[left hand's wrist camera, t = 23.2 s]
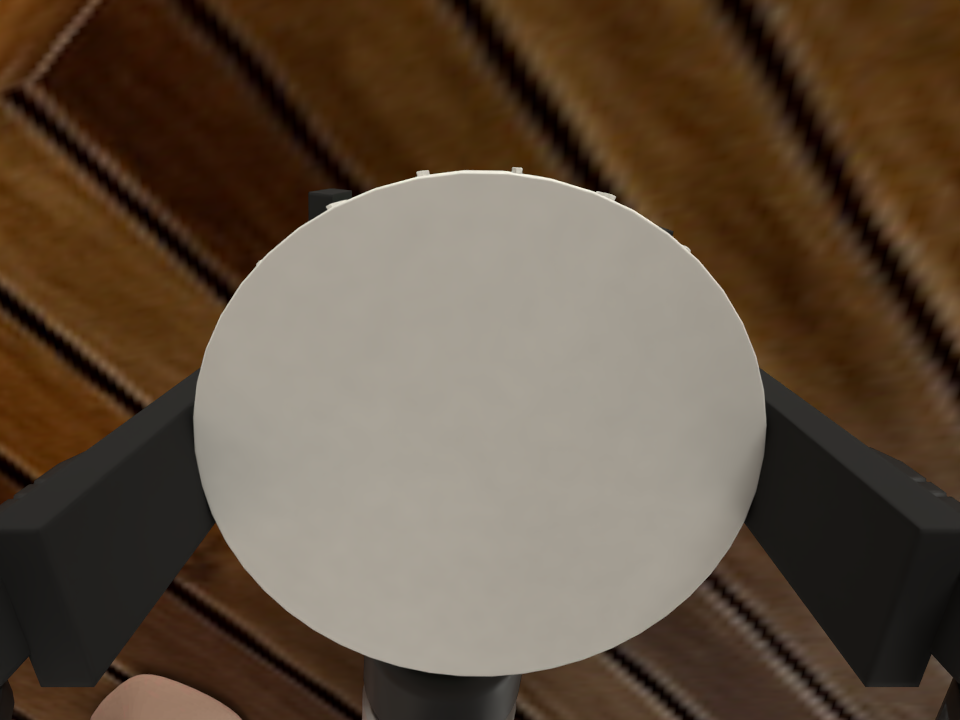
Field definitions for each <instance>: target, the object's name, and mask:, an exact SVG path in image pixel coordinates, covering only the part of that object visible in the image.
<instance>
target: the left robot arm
mask: <svg viewBox="0 0 960 720" xmlns="http://www.w3.org/2000/svg"><path fill="white" fill-rule="evenodd" d="M200 369H201V368H199V369H198V370H197V371H195V372H194V373H192V374H191V375H190V376H188V377H187V378H186V379H184V380H183V381H181V382H180V383H179V384H177V385H176V386H175V387H173V388H172V389H170V390H169V391H168V392H166V393H165V394H164V395H162V396H161V397H159V398H158V399H157V400H155V401H154V402H153V403H151V404H150V405H148V406H147V407H146V408H144V409H143V410H142V411H140V412H139V413H137V414H136V415H135V416H133V417H132V418H131V419H129V420H128V421H127V422H125V423H124V424H122V425H121V426H120V427H118V428H117V429H116V430H114V431H113V432H111V433H110V434H109V435H107V436H106V437H105V438H103V439H102V440H100V441H99V442H98V443H96V444H95V445H94V446H92V447H91V448H89V449H88V450H87V451H85V452H83V453H81V454H78V455H76V456H74V457H72V458H70V459H68V460H66V461H63V462H61V463H59V464H57V465H56V466H55V467H53V468H52V469H50V470H49V471H48V472H46V473H45V474H43V475H42V476H40V477H39V478H38V479H36V480H35V481H34V484H29V485H28V486H26V487H25V488H24V489H22V490H21V491H19V492H18V493H17V494H15V495H14V499H8V500H7V501H5V502H4V503H2V504H1V505H0V720H11V719H12V714H13V708H14V697H13V691H12V689H11V687H10V684H9V682H8V678H9V677H10V676H11V675H12V674H13V673H14V672H15V671H16V670H17V669H18V668H19V666H20V665H21V664H22V663H23V662H24V661H25V660H26V659H27V658H28V657H29V658H30V660H31V663H32V665H33V668H34V670H35V673H36V675H37V678H38V680H39V683H40V685H41V687H94V686H95V685H96V684H97V682H98V681H99V680H100V678H101V677H102V676H103V674H104V673H105V671H106V670H107V669H108V667H109V666H110V665H111V663H112V662H113V661H114V659H115V658H116V657H117V655H118V654H119V652H120V651H121V650H122V648H123V647H124V646H125V644H126V643H127V642H128V640H129V639H130V638H131V636H132V635H133V634H134V632H135V631H136V629H137V628H138V627H139V625H140V624H141V623H142V621H143V620H144V619H145V617H146V616H147V615H148V613H149V612H150V610H151V609H152V608H153V606H154V605H155V604H156V602H157V601H158V600H159V598H160V597H161V596H162V594H163V593H164V592H165V590H166V589H167V587H168V586H169V585H170V583H171V582H172V581H173V579H174V578H175V577H176V575H177V574H178V573H179V571H180V570H181V568H182V567H183V566H184V564H185V563H186V562H187V560H188V559H189V558H190V556H191V555H192V554H193V552H194V551H195V549H196V548H197V547H198V545H199V544H200V543H201V541H202V540H203V539H204V537H205V536H206V535H207V533H208V532H209V531H210V529H211V528H212V526H213V525H214V524H215V522H216V521H215V519H214V517H213V515H212V513H211V510H210V508H209V505H208V502H207V499H206V496H205V493H204V490H203V487H202V484H201V479H200V474H199V469H198V464H197V460H196V455H195V447H194V425H193V415H194V405H195V396H196V386H197V381H198V377H199V373H200ZM759 371H760V375H761V380H762V384H763V388H764V397H765V411H766V425H767V426H766V438H765V451H764V458H763V462H762V467H761V472H760V476H759V481H758V485H757V490H756V493H755V495H754V498H753V501H752V503H751V506H750V508H749V511H748V514H747V516H746V519H745V521H744V523H745V524H746V526H747V527H748V528H749V530H750V531H751V532H752V534H753V535H754V536H755V538H756V539H757V540H758V542H759V543H760V545H761V546H762V547H763V549H764V550H765V551H766V553H767V554H768V555H769V557H770V558H771V559H772V561H773V562H774V563H775V565H776V566H777V568H778V569H779V570H780V572H781V573H782V574H783V576H784V577H785V578H786V580H787V581H788V582H789V584H790V585H791V587H792V588H793V589H794V591H795V592H796V593H797V595H798V596H799V597H800V599H801V600H802V601H803V603H804V604H805V606H806V607H807V608H808V610H809V611H810V612H811V614H812V615H813V616H814V618H815V619H816V620H817V622H818V623H819V624H820V626H821V627H822V629H823V630H824V631H825V633H826V634H827V635H828V637H829V638H830V639H831V641H832V642H833V643H834V645H835V646H836V648H837V649H838V650H839V652H840V653H841V654H842V656H843V657H844V658H845V660H846V661H847V662H848V664H849V665H850V667H851V668H852V669H853V671H854V672H855V673H856V675H857V676H858V677H859V679H860V680H861V681H862V683H863V684H864V685H865V687H919V684H920V682H921V679H922V677H923V674H924V672H925V669H926V667H927V664H928V662H929V659H930V657H931V654H932V655H933V656H934V657H935V658H936V659H937V660H938V661H939V663H940V664H941V665H942V666H943V667H944V668H945V669H946V670H947V671H948V672H949V673H950V674H951V676H952V677H953V680H952V682H951V684H950V687H949V689H948V691H947V694H946V696H945V698H944V701H943V703H942V705H941V708H940V710H939V712H938V715H937V717H936V720H960V502H958V501H957V500H955V499H954V498H953V497H947V496H946V493H945V492H944V491H943V490H941V489H940V488H938V487H937V486H936V485H934V484H933V483H931V482H926V478H924V477H923V476H921V475H920V474H919V473H917V472H916V471H914V470H913V469H911V468H910V467H909V466H907V465H906V464H904V463H903V462H901V461H899V460H897V459H895V458H893V457H890V456H888V455H886V454H884V453H882V452H879V451H877V450H875V449H873V448H871V447H867V446H866V445H865V444H863V443H862V442H861V441H859V440H858V439H856V438H855V437H854V436H852V435H851V434H850V433H848V432H847V431H845V430H844V429H843V428H841V427H840V426H839V425H837V424H836V423H835V422H833V421H832V420H830V419H829V418H828V417H826V416H825V415H824V414H822V413H821V412H819V411H818V410H817V409H815V408H814V407H813V406H811V405H810V404H808V403H807V402H806V401H804V400H803V399H802V398H800V397H799V396H797V395H796V394H795V393H793V392H792V391H791V390H789V389H788V388H786V387H785V386H784V385H782V384H781V383H780V382H778V381H777V380H775V379H774V378H773V377H771V376H770V375H769V374H767V373H766V372H764V371H763V370H762V369H760V368H759Z"/></svg>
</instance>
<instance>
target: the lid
mask: <svg viewBox="0 0 960 720" xmlns="http://www.w3.org/2000/svg"><path fill="white" fill-rule="evenodd" d="M416 173H417V177H415V178H412V179H408V180H404V181H400V182H397V183H393V184H389V185H386V186H382V187H378V188H375V189H372V190H370V191H368V192H365V193H363V194H361V195H358V196H356V197H354V198H351V199H349V200H343V201H339V202H335V203H332V204H329V205H327V206H326V208H327V211H325V212H324V213H322V214H320V215H319V216H317V217H315V218H314V219H312V220H310V221H309V222H307V223H306V224H304V225H302V226H301V227H299V228H298V229H297V230H295V231H294V232H293V233H292V234H291V235H289V236H288V237H287V238H286V239H285V240H283V241H282V242H281V243H280V244H279V245H277V246H276V247H275V248H274V249H273V250H271V251H270V252H269V253H268V254H267V255H266V256H265V257H264V258H263V259H262V260H260V261H259V262H258V263H257V264H256V265H257V266H256V267H255V268H254V270H253V271H252V272H251V273H250V274H249V275H248V276H247V278H246V279H245V280H244V281H243V282H242V283H241V285H240V286H239V288H238V289H237V291H236V292H235V294H234V296H233V297H232V299H231V300H230V302H229V303H228V305H227V306H226V308H225V310H224V311H223V313H222V314H221V316H220V318H219V321H218V323H217V325H216V327H215V330H214V332H213V334H212V336H211V339H210V341H209V343H208V345H207V348H206V351H205V354H204V358H203V362H202V366H201V369H200V373H199V377H198V381H197V386H196V396H195V405H194V415H193V425H194V447H195V455H196V460H197V464H198V469H199V474H200V479H201V484H202V487H203V490H204V493H205V496H206V499H207V502H208V505H209V508H210V510H211V513H212V515H213V517H214V519H215V521H216V523H217V525H218V527H219V529H220V531H221V533H222V535H223V537H224V539H225V541H226V542H227V544H228V545H229V547H230V548H231V550H232V551H233V553H234V554H235V556H236V557H237V558H238V560H239V561H240V563H241V564H242V566H243V567H244V568H245V570H246V571H247V572H248V573H249V574H250V575H251V576H252V577H253V579H254V580H255V581H256V582H257V583H258V584H259V585H260V586H261V588H262V589H263V590H264V591H265V592H266V593H267V594H268V595H270V596H271V597H272V598H273V599H274V600H275V601H276V602H277V603H279V604H280V605H281V606H282V607H283V608H284V609H285V610H286V611H288V612H289V613H290V614H292V615H293V616H295V617H296V618H297V619H299V620H300V621H302V622H303V623H304V624H306V625H307V626H309V627H310V628H312V629H313V630H315V631H316V632H318V633H320V634H322V635H324V636H325V637H327V638H329V639H331V640H333V641H334V642H336V643H338V644H340V645H342V646H344V647H347V648H349V649H351V650H354V651H356V652H358V653H361V654H363V655H365V656H368V657H370V658H374V659H377V660H380V661H383V662H386V663H390V664H393V665H396V666H399V667H404V668H409V669H414V670H419V671H424V672H428V673H437V674H446V675H455V676H502V675H514V674H524V673H530V672H535V671H541V670H546V669H551V668H556V667H559V666H563V665H566V664H570V663H573V662H577V661H580V660H584V659H586V658H589V657H591V656H594V655H596V654H599V653H601V652H604V651H606V650H609V649H611V648H613V647H615V646H617V645H619V644H621V643H623V642H625V641H627V640H629V639H631V638H632V637H634V636H636V635H638V634H640V633H642V632H643V631H645V630H646V629H648V628H649V627H650V626H652V625H653V624H655V623H656V622H658V621H659V620H661V619H662V618H664V617H665V616H667V615H668V614H669V613H670V612H671V611H673V610H674V609H675V608H676V607H677V606H679V605H680V604H681V603H682V602H683V601H685V600H686V599H687V598H688V597H689V596H690V595H691V594H692V593H693V592H694V591H695V590H696V589H697V588H698V587H699V586H700V585H701V584H702V582H703V581H704V580H705V579H706V578H707V577H708V576H709V575H710V574H711V573H712V571H713V570H714V569H715V567H716V566H717V565H718V563H719V562H720V560H721V559H722V558H723V556H724V555H725V554H726V552H727V551H728V550H729V548H730V546H731V545H732V543H733V541H734V539H735V537H736V536H737V534H738V532H739V530H740V528H741V526H742V525H743V523H744V521H745V519H746V516H747V514H748V511H749V508H750V506H751V503H752V501H753V498H754V495H755V493H756V490H757V485H758V481H759V476H760V472H761V467H762V462H763V458H764V451H765V438H766V426H767V425H766V411H765V397H764V388H763V384H762V380H761V375H760V371H759V367H758V362H757V358H756V355H755V352H754V350H753V347H752V345H751V342H750V340H749V337H748V335H747V332H746V330H745V327H744V325H743V322H742V321H741V319H740V317H739V316H738V314H737V312H736V311H735V309H734V307H733V306H732V304H731V302H730V300H729V299H728V297H727V295H726V294H725V292H724V290H723V289H722V288H721V287H720V286H719V284H718V283H717V282H716V281H715V279H714V278H713V277H712V276H711V275H710V273H709V272H708V271H707V270H706V269H705V267H704V266H703V265H702V264H701V262H700V261H699V260H698V259H697V258H696V257H694V256H693V255H692V254H691V253H690V251H691V250H690V249H689V248H688V247H686V246H683V245H681V244H680V243H679V242H678V241H677V240H675V239H674V238H673V237H672V236H671V235H670V234H669V233H667V232H666V231H664V230H663V229H661V228H660V227H658V226H657V225H655V224H654V223H652V222H651V221H649V220H648V219H646V218H645V217H643V216H642V215H640V214H639V213H637V212H636V211H634V210H632V209H630V208H628V207H626V206H624V205H621V204H619V203H617V202H615V201H614V200H615V198H616V197H615V196H613V195H611V194H607V193H603V192H598V191H597V192H593V191H590V190H587V189H583V188H580V187H577V186H573V185H570V184H567V183H564V182H560V181H557V180H554V179H550V178H545V177H539V176H533V175H526V174H522V168H516V167H512V172H507V171H478V170H463V171H455V172H447V173H439V174H431V175H430V174H429V170H425V171H418V172H416Z"/></svg>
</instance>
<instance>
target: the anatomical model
mask: <svg viewBox="0 0 960 720" xmlns="http://www.w3.org/2000/svg"><path fill="white" fill-rule="evenodd" d="M90 720H242V719H241V718H240V717H239V716H238V715H237V714H236V713H235V712H234V711H233V710H231V709H230V708H229V707H227V706H225V705H224V704H222V703H221V702H219V701H218V700H216V699H214V698H212V697H210V696H209V695H206V694H204V693H202V692H200V691H198V690H196V689H194V688H191V687H189V686H187V685H184V684H182V683H179V682H177V681H174V680H171V679H168V678H165V677H162V676H157V675H152V674H142V675H137V676H134V677H132V678H129V679H128V680H126V681H125V682H123V683H122V684H120V685H119V686H118V687H117V688H116V689H115V690H114V691H112V692H111V693H110V694H109V695H108V696H107V697H106V698H105V699H104V700H103V701H102V702H101V704H100V705H99V706H98V708H97V709H96V711H95V712H94V713H93V715H92V717H91V719H90Z"/></svg>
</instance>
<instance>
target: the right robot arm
mask: <svg viewBox="0 0 960 720" xmlns="http://www.w3.org/2000/svg"><path fill="white" fill-rule="evenodd" d="M351 198H352V191H349V190H340V189H325V190H319V191H313V192H309V221H310V220H312V219H314V218H315V217H317V216H319V215H320V214H322V213H324V212H325V211H327V208H326V206H327V205H329V204H332V203H335V202H339V201H343V200H349V199H351ZM658 227H659V226H658ZM660 228H661V229H663V230H664V231H666V232H667V233H669V234H670V235H671V236H673V232H674V231H671V230H668V229H665V228H662V227H660ZM521 675H522V674H514V675H502V676H455V675H446V674H437V673H428V672H424V671H419V670H414V669H409V668H404V667H399V666H396V665H393V664H390V663H386V662H383V661H380V660H377V659H374V658H370V657H368V656H365V655H364V687H363V705H362V720H514V715H515V710H516V699H517V695H518V691H519V686H520V681H521Z"/></svg>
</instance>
